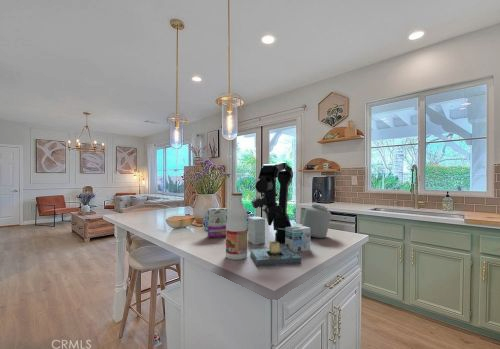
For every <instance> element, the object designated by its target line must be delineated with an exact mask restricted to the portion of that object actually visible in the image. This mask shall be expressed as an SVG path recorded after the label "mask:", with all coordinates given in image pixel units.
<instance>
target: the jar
mask: <svg viewBox="0 0 500 349" xmlns="http://www.w3.org/2000/svg"><path fill="white" fill-rule="evenodd" d="M319 195H320V196H322V194H319ZM323 200H324V199H323ZM331 218H332V213H331V212H330V211H329V210H328V207H327V206H325V205H321V204H316V203H311V206H309V205H308V206H307V207H306V208H305V211H304V215H303V219H302V223H301V225H303V226H306V227H309V228H311V230H310V237H312V238H315V239H316V238H317V239H323V238H325V237H327V234H328V231H329V226H330V222H331Z"/></svg>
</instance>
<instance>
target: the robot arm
mask: <svg viewBox="0 0 500 349" xmlns="http://www.w3.org/2000/svg"><path fill="white" fill-rule="evenodd" d="M293 177H294V171H293V168H292V167H291V166H289V165H288V163H287V162H286V161H277V162H275V163H273V164H265V163H264V164H262V167H260V171H259V175H258V180H257V181H256V183H255V187H254V188H255V190H256V192H258V193H259V194H261V197H257V198H254V199H253V200H251V201H250V202H251V205H252V208H254V209H257V208H262V209H261V211H262V212H264V214H265V217H266V221H267V224H268V226H273V231H275V232H274V233H275V235H274V239H275V240H274V241H276V242H279V243H280V244H285V228H286V227H292V224H291V221H290V215H289V213H288V197H289V186H290V185H291V184H292V182H293ZM277 181H278V183H279V194H278V193H277ZM278 195H279V197H278ZM277 197H278V202H277Z"/></svg>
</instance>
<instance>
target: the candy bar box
mask: <svg viewBox="0 0 500 349" xmlns="http://www.w3.org/2000/svg"><path fill="white" fill-rule="evenodd" d="M227 209H228V207H216V208H213V207H212V208H211V207H210V208H207V238H208V239H211V238H212V239H214V238H215V239H216V238H226V223H227V215H226V212H227Z"/></svg>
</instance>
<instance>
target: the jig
mask: <svg viewBox="0 0 500 349" xmlns="http://www.w3.org/2000/svg"><path fill="white" fill-rule="evenodd" d="M250 256H251V258H252V260H253V262H254V263H255V265H256V266H257V267H258V268H259V267H271V266H272V267H273V266H287V265H288V266H289V265H300V264H302V257H301V256H300V255H299V254H298V253H297V252H294V251H293V250H291V249H290V248H289V247H285V246H284V247H280V255H279V256H269V248H253V249H252V248H251V249H250Z"/></svg>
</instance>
